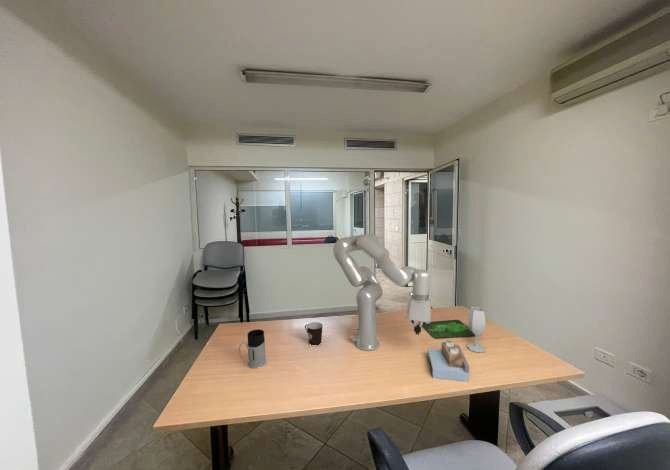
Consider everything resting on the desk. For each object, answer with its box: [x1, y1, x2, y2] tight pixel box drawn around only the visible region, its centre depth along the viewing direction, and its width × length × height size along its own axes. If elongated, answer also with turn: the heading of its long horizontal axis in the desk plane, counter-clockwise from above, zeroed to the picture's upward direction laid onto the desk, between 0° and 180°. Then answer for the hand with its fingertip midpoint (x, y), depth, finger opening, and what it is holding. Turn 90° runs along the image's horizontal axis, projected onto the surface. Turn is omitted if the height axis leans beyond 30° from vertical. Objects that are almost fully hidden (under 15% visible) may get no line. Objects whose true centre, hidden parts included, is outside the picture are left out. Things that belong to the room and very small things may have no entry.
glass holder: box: [238, 329, 267, 369], centre depth 123 cm, size 9×14×15 cm, turn 149°
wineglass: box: [466, 306, 487, 353], centre depth 134 cm, size 9×9×21 cm
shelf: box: [427, 344, 470, 383], centre depth 118 cm, size 14×17×7 cm
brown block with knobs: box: [440, 340, 463, 368], centre depth 118 cm, size 6×12×6 cm, turn 174°
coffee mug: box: [304, 321, 324, 346], centre depth 145 cm, size 12×9×10 cm
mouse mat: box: [421, 319, 475, 340], centre depth 157 cm, size 27×22×1 cm
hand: (417, 333), depth 125 cm, fingers closed
